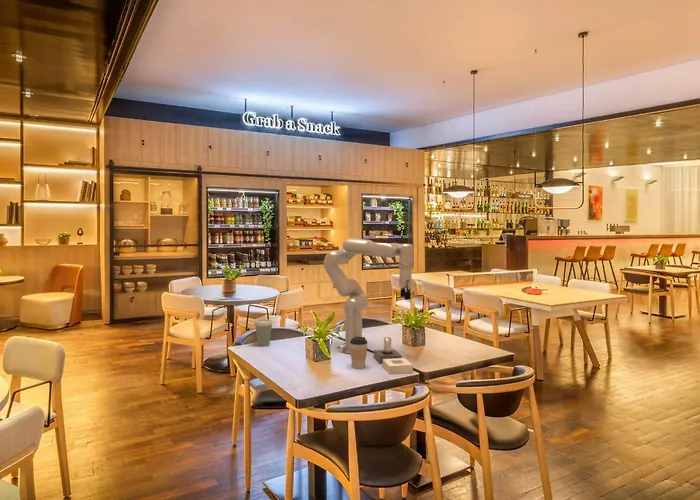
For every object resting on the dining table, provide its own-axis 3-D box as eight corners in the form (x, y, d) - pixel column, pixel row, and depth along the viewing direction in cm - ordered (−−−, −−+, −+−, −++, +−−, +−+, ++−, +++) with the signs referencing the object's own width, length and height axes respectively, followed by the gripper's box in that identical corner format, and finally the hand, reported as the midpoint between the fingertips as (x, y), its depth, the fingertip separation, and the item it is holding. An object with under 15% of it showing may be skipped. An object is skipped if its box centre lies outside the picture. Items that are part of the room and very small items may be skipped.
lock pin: (384, 361, 261) (385, 339, 260) (382, 359, 264) (383, 337, 264) (391, 361, 261) (392, 338, 261) (389, 358, 265) (390, 337, 265)
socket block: (389, 374, 239) (389, 366, 239) (382, 366, 251) (382, 359, 251) (412, 372, 242) (412, 364, 242) (404, 365, 254) (404, 357, 253)
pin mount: (379, 364, 256) (379, 356, 256) (373, 357, 267) (373, 350, 267) (401, 362, 258) (401, 355, 258) (394, 356, 270) (394, 349, 270)
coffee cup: (354, 370, 245) (355, 340, 244) (346, 365, 253) (346, 336, 252) (370, 367, 249) (370, 338, 248) (361, 363, 257) (362, 334, 256)
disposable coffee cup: (276, 344, 292) (276, 319, 292) (263, 348, 283) (263, 323, 282) (263, 342, 298) (263, 317, 297) (250, 345, 289) (250, 320, 288)
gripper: (395, 265, 271) (395, 295, 272) (402, 268, 254) (402, 301, 255) (408, 265, 272) (408, 295, 273) (416, 268, 255) (416, 300, 256)
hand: (405, 298), depth 264 cm, fingers open, 9 cm apart
